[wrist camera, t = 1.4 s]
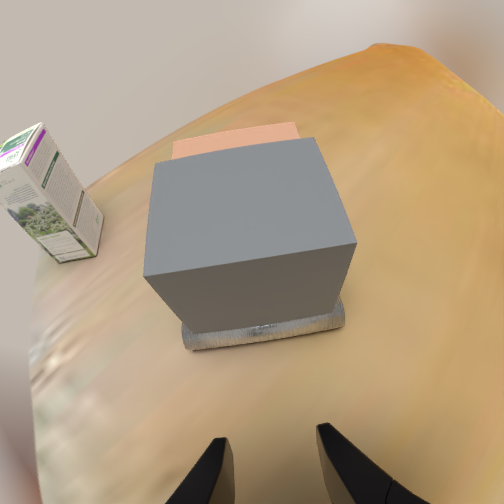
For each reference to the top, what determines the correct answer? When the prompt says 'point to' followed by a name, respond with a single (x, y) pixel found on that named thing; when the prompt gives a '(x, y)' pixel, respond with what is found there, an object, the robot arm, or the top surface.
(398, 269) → the top surface
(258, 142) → the block
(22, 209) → the syrup box
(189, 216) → the grey block
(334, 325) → the roller track
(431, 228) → the top surface
